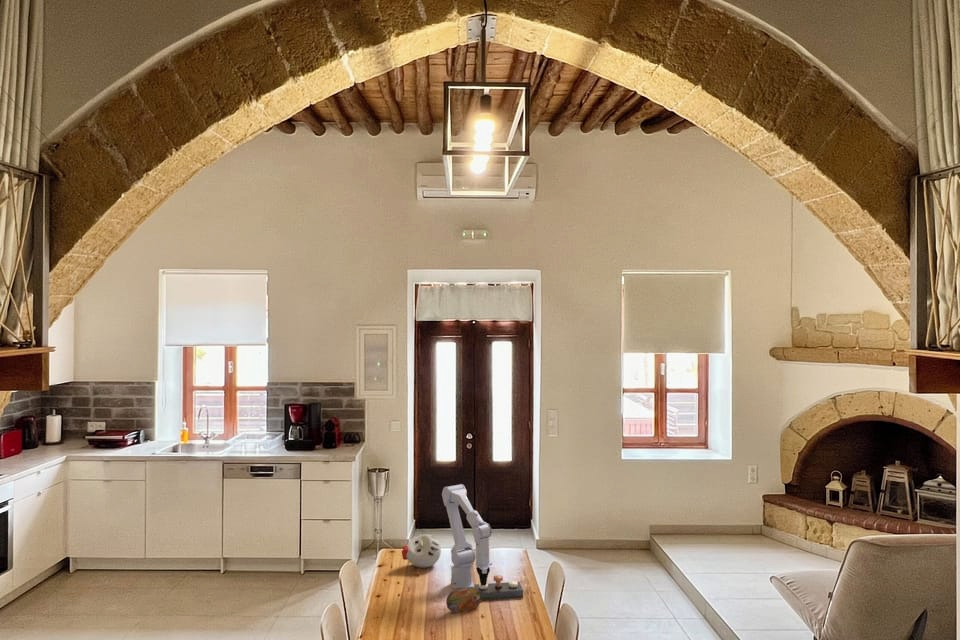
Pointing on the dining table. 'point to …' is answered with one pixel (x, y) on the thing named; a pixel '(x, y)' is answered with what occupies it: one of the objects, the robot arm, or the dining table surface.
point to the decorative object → (422, 551)
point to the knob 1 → (483, 586)
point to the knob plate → (500, 591)
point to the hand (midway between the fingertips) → (483, 584)
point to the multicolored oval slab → (463, 600)
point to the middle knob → (498, 580)
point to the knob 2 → (513, 584)
